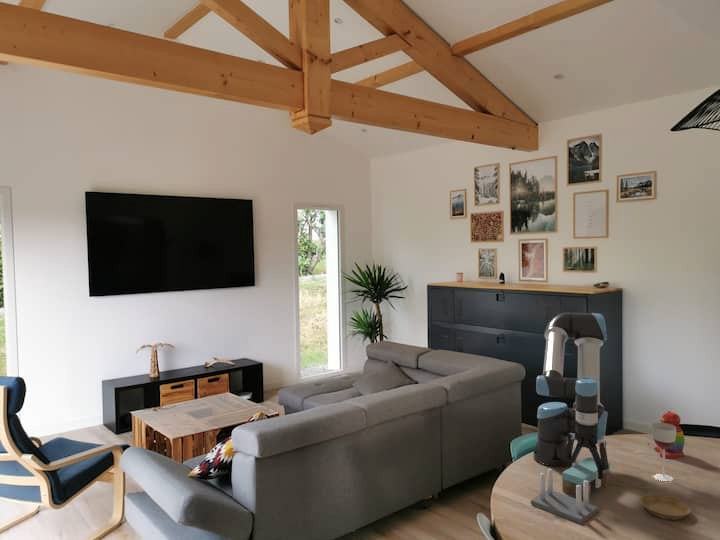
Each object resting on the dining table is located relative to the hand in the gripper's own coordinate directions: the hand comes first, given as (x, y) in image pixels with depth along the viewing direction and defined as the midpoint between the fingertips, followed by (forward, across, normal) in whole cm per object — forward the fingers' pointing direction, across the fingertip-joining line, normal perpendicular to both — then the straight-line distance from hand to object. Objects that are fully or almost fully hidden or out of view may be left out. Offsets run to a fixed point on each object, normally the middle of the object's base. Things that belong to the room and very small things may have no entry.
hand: (586, 483), depth 200 cm
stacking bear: (+2, +9, +56) cm, 57 cm away
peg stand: (+2, +2, -20) cm, 20 cm away
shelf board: (-3, 0, 0) cm, 3 cm away
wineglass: (+2, +16, +29) cm, 33 cm away
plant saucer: (+2, +26, +2) cm, 26 cm away
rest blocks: (+2, 0, 0) cm, 2 cm away
